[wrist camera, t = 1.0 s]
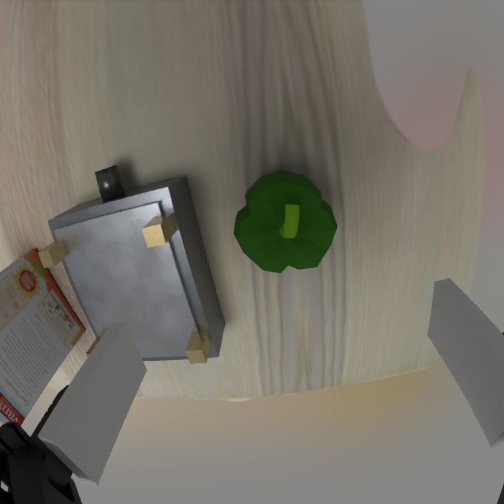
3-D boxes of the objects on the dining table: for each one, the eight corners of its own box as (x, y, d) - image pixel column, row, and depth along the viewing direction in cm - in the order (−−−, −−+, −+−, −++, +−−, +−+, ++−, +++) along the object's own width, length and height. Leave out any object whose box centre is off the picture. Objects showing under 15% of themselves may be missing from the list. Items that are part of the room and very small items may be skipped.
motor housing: (70, 181, 30) (19, 201, 22) (179, 147, 29) (145, 156, 20) (126, 332, 38) (99, 378, 30) (225, 324, 36) (214, 378, 28)
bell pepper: (301, 257, 33) (313, 309, 23) (229, 226, 32) (214, 269, 22) (337, 187, 30) (368, 215, 20) (263, 151, 29) (262, 163, 19)
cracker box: (16, 259, 35) (-79, 338, 16) (37, 246, 34) (-70, 331, 14) (63, 337, 40) (-5, 433, 20) (87, 330, 39) (15, 438, 19)
